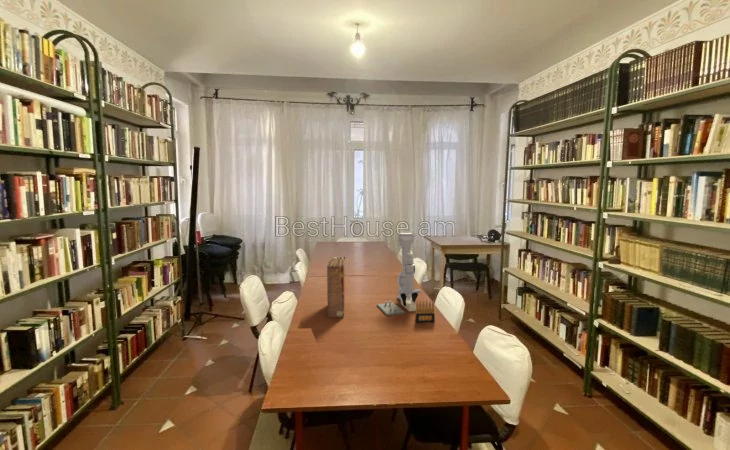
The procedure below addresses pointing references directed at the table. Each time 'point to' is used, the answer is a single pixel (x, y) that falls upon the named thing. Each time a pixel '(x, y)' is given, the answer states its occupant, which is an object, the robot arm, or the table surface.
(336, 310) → the book
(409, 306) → the cream rectangular block
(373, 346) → the table surface
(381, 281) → the table surface
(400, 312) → the flat gray board
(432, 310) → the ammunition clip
